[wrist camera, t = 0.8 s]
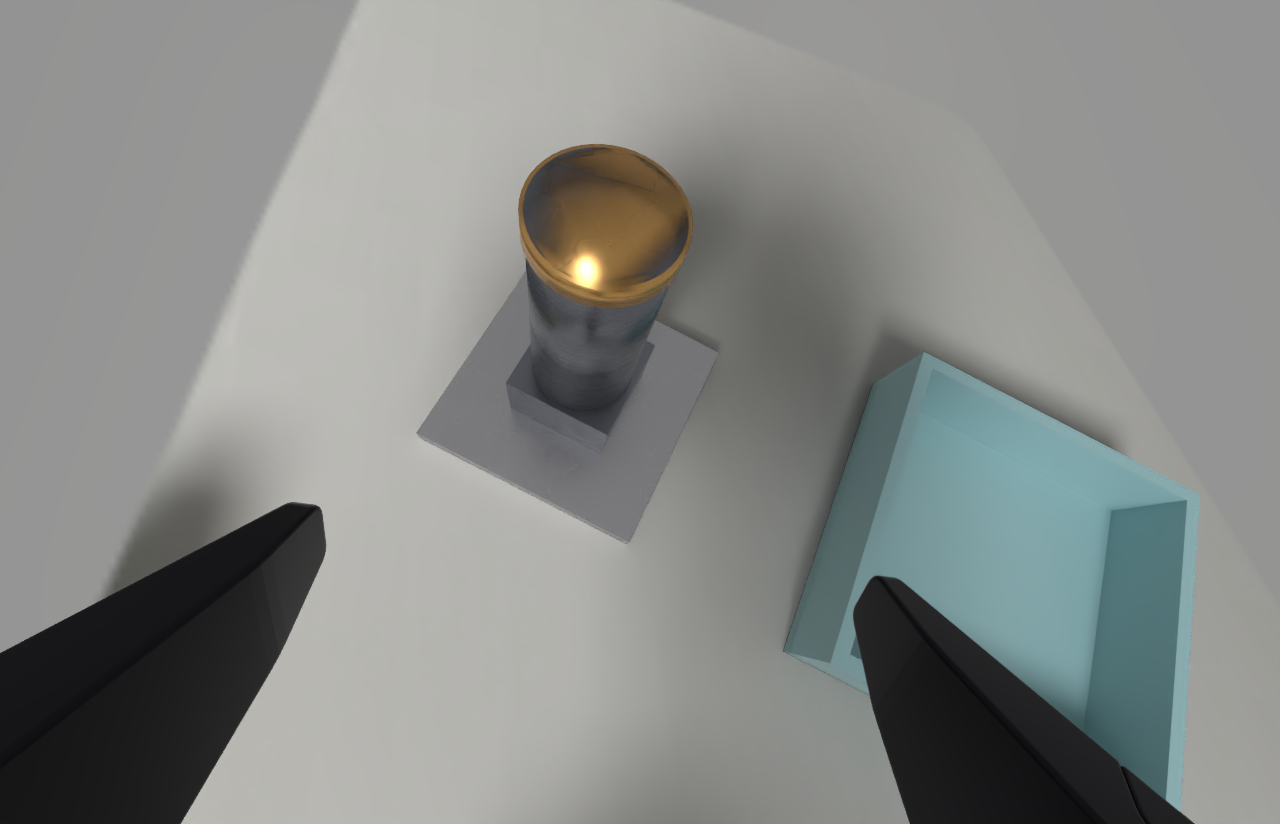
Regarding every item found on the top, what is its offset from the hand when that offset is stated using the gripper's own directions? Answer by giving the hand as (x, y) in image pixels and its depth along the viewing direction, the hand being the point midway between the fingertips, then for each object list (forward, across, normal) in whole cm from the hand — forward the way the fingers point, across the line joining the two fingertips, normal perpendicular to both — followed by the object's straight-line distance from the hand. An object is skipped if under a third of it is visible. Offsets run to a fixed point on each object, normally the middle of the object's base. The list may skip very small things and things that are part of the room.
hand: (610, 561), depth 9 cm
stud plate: (+16, +1, +6) cm, 17 cm away
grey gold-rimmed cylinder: (+15, +1, +5) cm, 16 cm away
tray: (+11, -18, +9) cm, 23 cm away
